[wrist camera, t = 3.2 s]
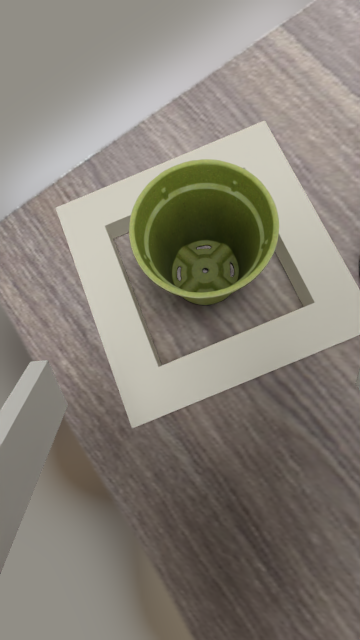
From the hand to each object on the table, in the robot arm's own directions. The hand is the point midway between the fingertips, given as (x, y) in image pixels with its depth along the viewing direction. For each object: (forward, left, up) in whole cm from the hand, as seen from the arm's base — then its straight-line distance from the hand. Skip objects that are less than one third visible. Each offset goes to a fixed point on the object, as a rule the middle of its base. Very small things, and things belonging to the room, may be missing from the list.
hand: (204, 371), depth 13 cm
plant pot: (-3, -9, -13) cm, 16 cm away
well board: (-3, -9, -13) cm, 16 cm away
